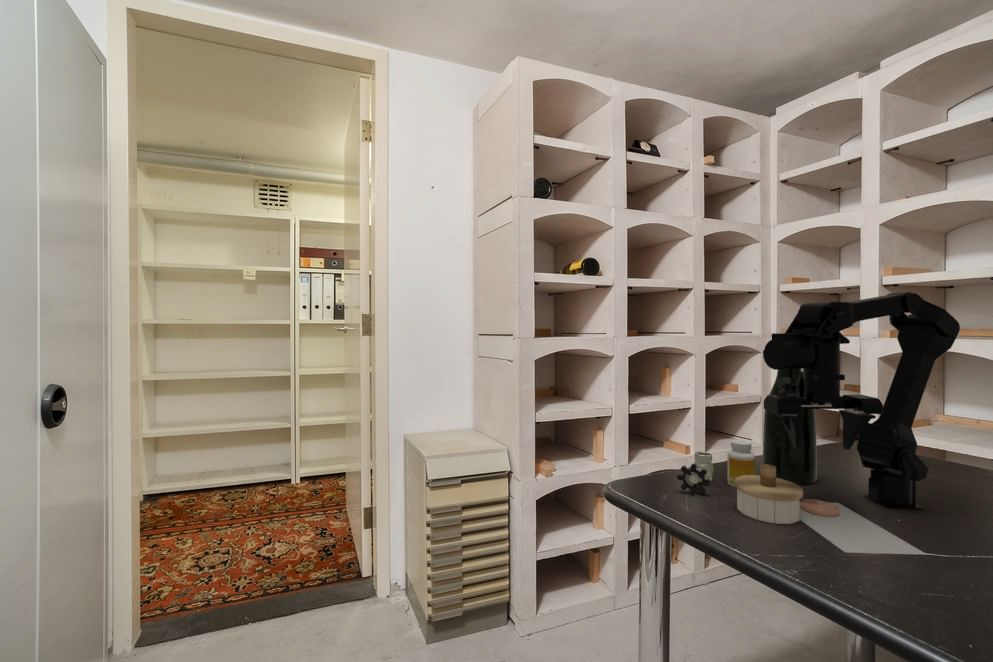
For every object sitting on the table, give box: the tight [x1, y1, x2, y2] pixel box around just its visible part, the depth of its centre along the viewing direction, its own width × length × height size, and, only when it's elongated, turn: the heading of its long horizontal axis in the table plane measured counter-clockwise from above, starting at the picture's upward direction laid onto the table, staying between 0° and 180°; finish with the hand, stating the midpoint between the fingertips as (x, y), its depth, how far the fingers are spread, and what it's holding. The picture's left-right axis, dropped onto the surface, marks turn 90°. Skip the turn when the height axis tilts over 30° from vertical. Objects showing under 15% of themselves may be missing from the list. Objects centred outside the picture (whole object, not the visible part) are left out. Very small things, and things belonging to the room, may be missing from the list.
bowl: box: [736, 488, 801, 525], centre depth 86 cm, size 10×10×4 cm
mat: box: [799, 501, 928, 556], centre depth 80 cm, size 12×20×1 cm, turn 176°
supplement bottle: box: [726, 439, 756, 487], centre depth 100 cm, size 5×5×10 cm
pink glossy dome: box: [800, 498, 839, 517], centre depth 86 cm, size 6×6×1 cm
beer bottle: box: [762, 369, 818, 486], centre depth 104 cm, size 10×10×33 cm
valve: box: [676, 451, 715, 496], centre depth 100 cm, size 7×7×12 cm
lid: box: [734, 463, 804, 502], centre depth 86 cm, size 11×11×4 cm
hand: (821, 449), depth 87 cm, fingers open, 9 cm apart
